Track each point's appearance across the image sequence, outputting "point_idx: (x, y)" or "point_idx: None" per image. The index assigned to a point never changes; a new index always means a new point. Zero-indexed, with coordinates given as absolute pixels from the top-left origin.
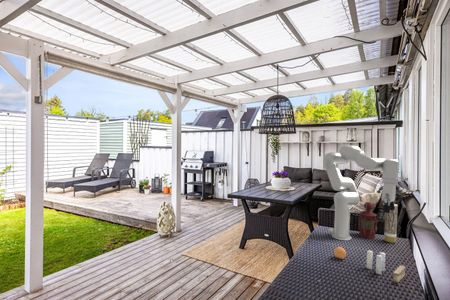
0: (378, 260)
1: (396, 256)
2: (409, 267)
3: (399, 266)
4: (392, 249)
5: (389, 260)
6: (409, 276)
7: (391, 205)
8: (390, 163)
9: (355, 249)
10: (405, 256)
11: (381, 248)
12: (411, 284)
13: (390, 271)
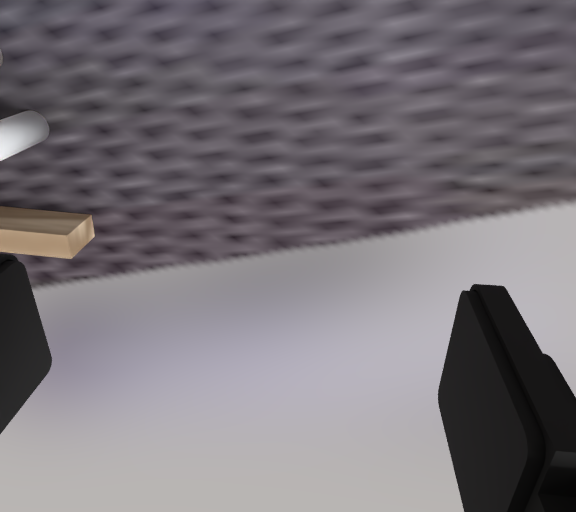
0: None
1: (387, 155)
2: (233, 243)
3: (40, 233)
4: (559, 101)
5: (255, 131)
6: (96, 254)
7: (477, 467)
8: None
9: None
10: (437, 204)
11: (523, 15)
12: None
13: (66, 169)
